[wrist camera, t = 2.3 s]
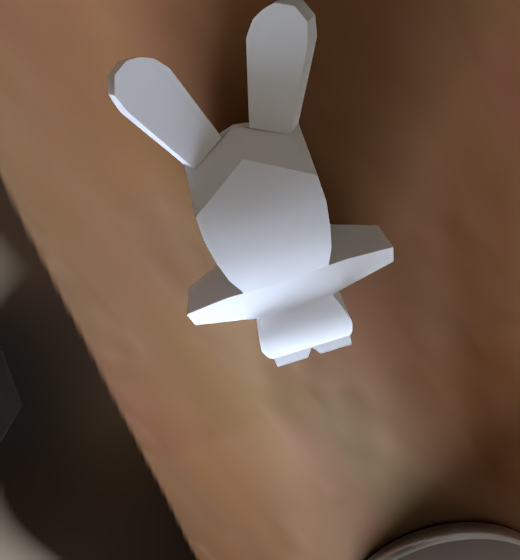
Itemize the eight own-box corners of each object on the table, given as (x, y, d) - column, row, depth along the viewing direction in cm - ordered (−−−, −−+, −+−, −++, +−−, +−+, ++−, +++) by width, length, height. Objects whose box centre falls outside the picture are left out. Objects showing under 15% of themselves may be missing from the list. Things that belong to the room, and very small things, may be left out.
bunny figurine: (226, 407, 22) (53, 93, 14) (223, 338, 26) (90, 68, 18) (419, 348, 21) (353, -23, 13) (384, 287, 25) (317, -20, 17)
